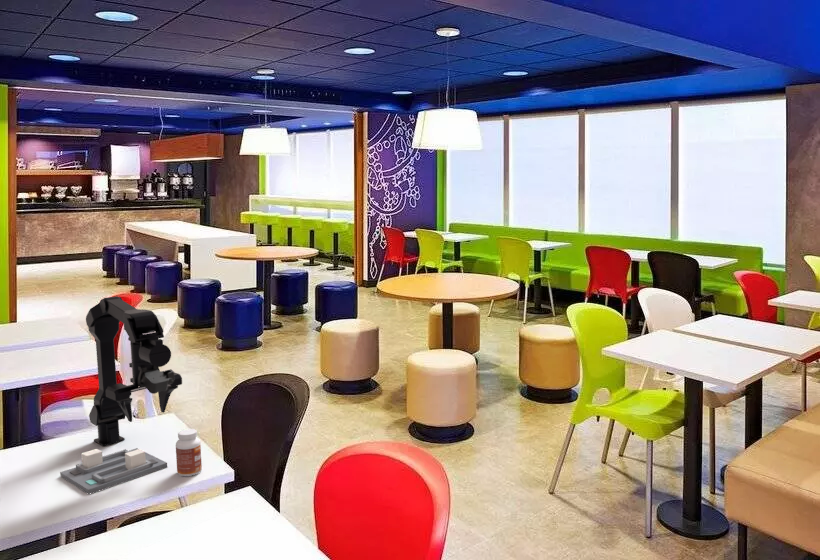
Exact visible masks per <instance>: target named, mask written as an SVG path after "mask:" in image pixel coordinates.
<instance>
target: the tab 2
mask: <svg viewBox="0 0 820 560" xmlns="http://www.w3.org/2000/svg"><path fill="white" fill-rule="evenodd" d="M145 452H146V451H145V450H143V449H140V448H138V450H135V451H131V452H128V453H125V463H126V468H127V469H131V468H134V467H137V466H140V465H143V464H146V458H145Z"/></svg>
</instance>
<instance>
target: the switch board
mask: <svg viewBox="0 0 820 560" xmlns="http://www.w3.org/2000/svg"><path fill="white" fill-rule="evenodd" d="M138 449H139V448H138V447H136V448H133V449H129V450H128V449H126V448H125V449H123V450H119V451H116V452H113V453H109V454H105V455H102V459H103V463H102V464H99V465H96V466H93V467H90V468H85V467H83V466H82V462H80V463H77V464H75V467H72V468H69V469H66V470H64V471H63V470H62V471H60V473H59V477H60V478H62V479H64V480H65V481H67V483H70V484H71V485H73V486H75V487H76V488H78V489H79V490H81V491H83V492H84V493H86V494H87V493H88V494H87V495H91V494H94V493H96V491H97V492H100V491H103V490H105V488H106V489H108V487H109V488H112V487H114V486H118V485H120V484H123V483H126V482H128V481H131V480H134V479H137V478H140V477H144V476H146V475H149V474H152V473H154V472H157V471H159V470H160V471H161V470H163V469H165V468H168V462H166V461H164V460H162V459H160V458H158V457H156V456H154V455H152V454H150V453H148V452H146V451H145V458H146V464H143V465H140V466H137V467H134V468H131V469H127V468H126V463H125V453H128V452H131V451H135V450H138ZM102 489H103V490H102ZM99 490H100V491H99ZM93 492H94V493H93ZM90 493H91V494H90Z"/></svg>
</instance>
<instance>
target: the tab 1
mask: <svg viewBox="0 0 820 560" xmlns="http://www.w3.org/2000/svg"><path fill="white" fill-rule="evenodd" d="M102 456H103V451H102V450H100V449H98V448H95V449H91V450H89V451H88V450H87V451H83V452H82V453H81V463H82V466H83V467H85V468H90V467H93V466H96V465H99V464H102V463H103V459H102Z"/></svg>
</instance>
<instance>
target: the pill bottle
mask: <svg viewBox="0 0 820 560" xmlns="http://www.w3.org/2000/svg"><path fill="white" fill-rule="evenodd" d="M197 436H198V431H197V429H195V428H186V429H181V430H179V431H178V432H177V437H178V440H176V443H175V455H176V456H175V457H176V458H175V459H176V460H175V461H176V471H177V474H178V476H180V477H192V476H191V475H193V476H196V475H198V474H200V473H201V472H202V470H203V469H202V466H203V465H202V448H201V446H202V445H201V440H200V438H198V437H197ZM199 472H200V473H199ZM195 474H196V475H195Z"/></svg>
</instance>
